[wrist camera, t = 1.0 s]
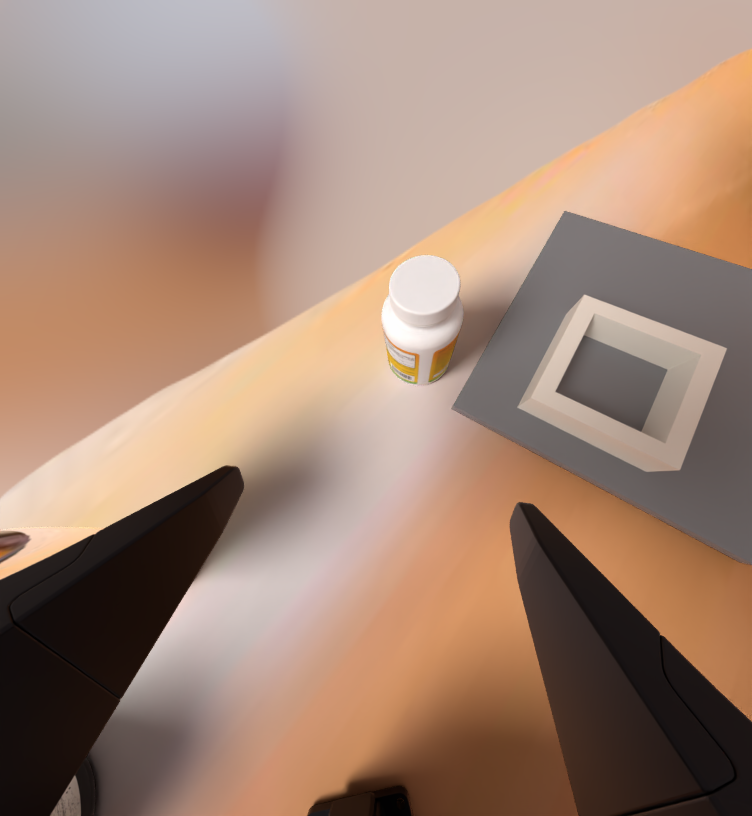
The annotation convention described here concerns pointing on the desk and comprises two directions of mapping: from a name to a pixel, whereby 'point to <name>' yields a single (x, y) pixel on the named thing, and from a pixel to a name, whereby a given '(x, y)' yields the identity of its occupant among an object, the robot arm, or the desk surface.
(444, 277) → the supplement bottle
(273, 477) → the desk surface
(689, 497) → the awning socket
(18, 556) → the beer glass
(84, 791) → the ink bottle
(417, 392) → the desk surface
